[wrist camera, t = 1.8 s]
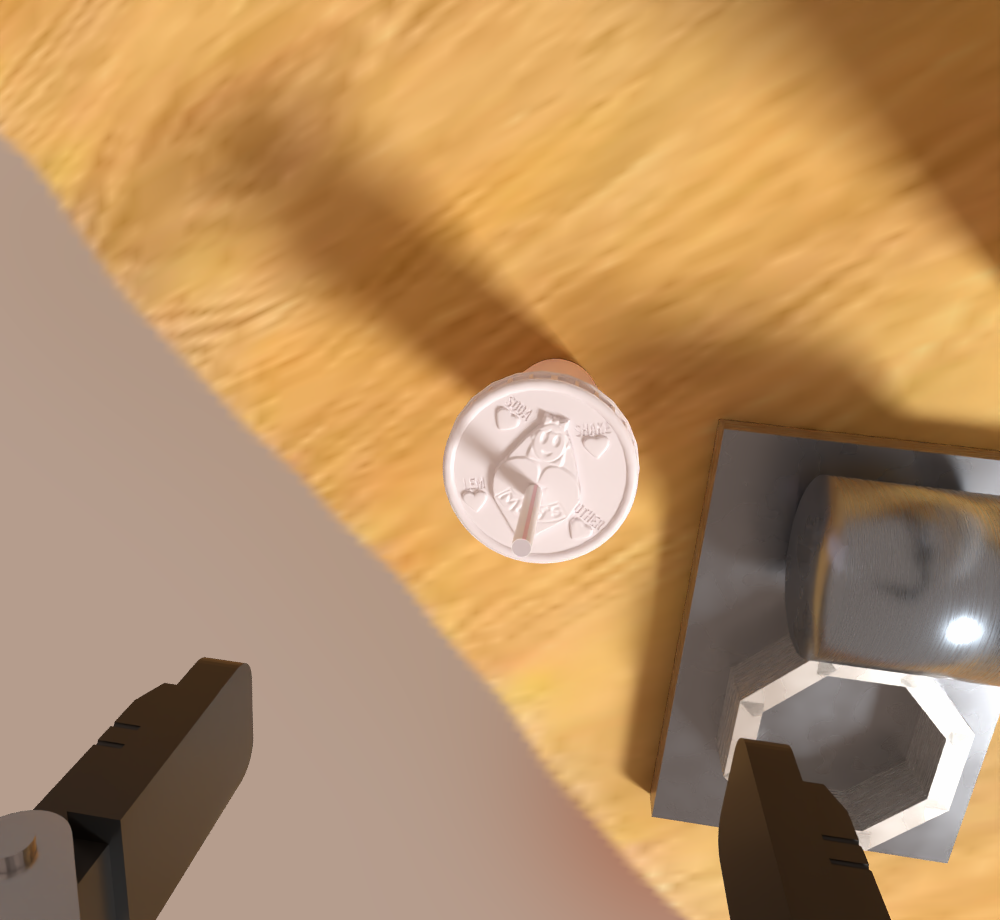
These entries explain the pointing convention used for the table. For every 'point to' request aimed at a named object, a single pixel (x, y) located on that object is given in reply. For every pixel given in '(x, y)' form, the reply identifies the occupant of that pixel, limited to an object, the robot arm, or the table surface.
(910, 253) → the table surface
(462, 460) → the smoothie
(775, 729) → the flat grey tray
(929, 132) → the table surface
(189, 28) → the table surface
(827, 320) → the table surface
